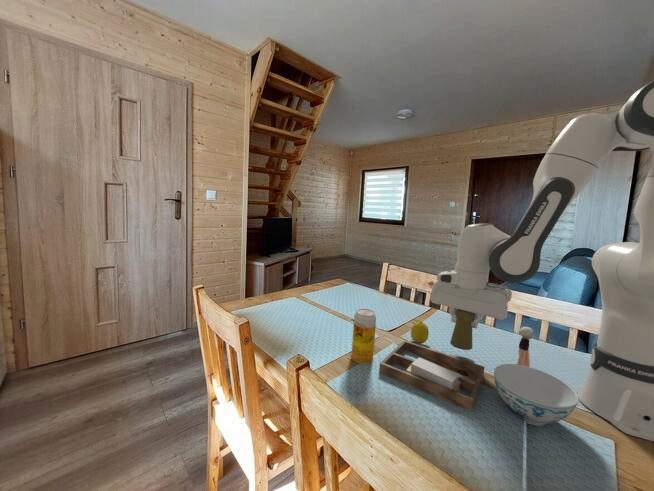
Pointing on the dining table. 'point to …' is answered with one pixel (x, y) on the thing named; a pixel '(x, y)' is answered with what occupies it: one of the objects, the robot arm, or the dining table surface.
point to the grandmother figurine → (524, 346)
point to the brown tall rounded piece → (463, 330)
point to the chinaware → (534, 394)
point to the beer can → (363, 336)
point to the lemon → (419, 332)
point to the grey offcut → (435, 373)
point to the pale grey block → (428, 380)
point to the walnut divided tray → (428, 385)
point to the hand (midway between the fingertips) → (464, 324)
